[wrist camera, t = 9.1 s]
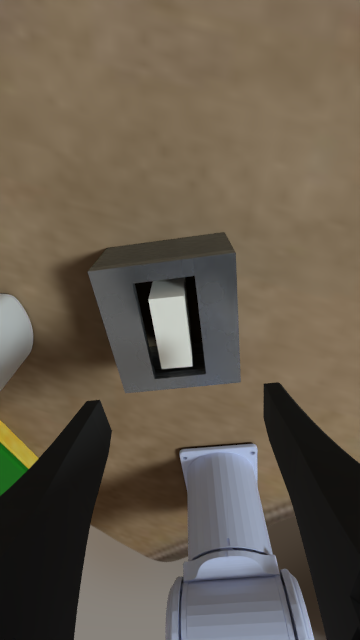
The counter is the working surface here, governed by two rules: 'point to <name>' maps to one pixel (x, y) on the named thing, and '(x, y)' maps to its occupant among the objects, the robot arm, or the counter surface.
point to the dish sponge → (13, 458)
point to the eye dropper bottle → (13, 337)
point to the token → (171, 322)
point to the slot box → (213, 302)
